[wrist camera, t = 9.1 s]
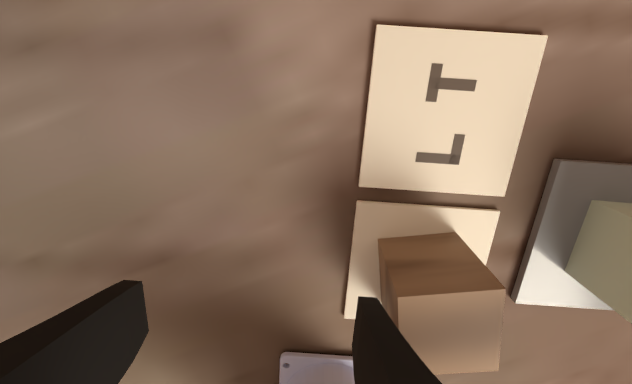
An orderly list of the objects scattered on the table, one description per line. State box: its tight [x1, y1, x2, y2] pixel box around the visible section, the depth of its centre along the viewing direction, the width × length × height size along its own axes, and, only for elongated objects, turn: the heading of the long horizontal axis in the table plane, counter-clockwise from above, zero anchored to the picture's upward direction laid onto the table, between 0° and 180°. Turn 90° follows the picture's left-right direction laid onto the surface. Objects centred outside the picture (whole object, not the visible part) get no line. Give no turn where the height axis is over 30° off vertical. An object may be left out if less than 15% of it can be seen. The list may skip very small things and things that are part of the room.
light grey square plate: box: [511, 159, 632, 310], centre depth 20 cm, size 10×10×1 cm
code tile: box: [358, 25, 548, 197], centre depth 18 cm, size 9×9×1 cm
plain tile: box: [344, 200, 500, 319], centre depth 22 cm, size 9×9×1 cm
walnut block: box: [378, 232, 506, 375], centre depth 19 cm, size 5×5×6 cm
